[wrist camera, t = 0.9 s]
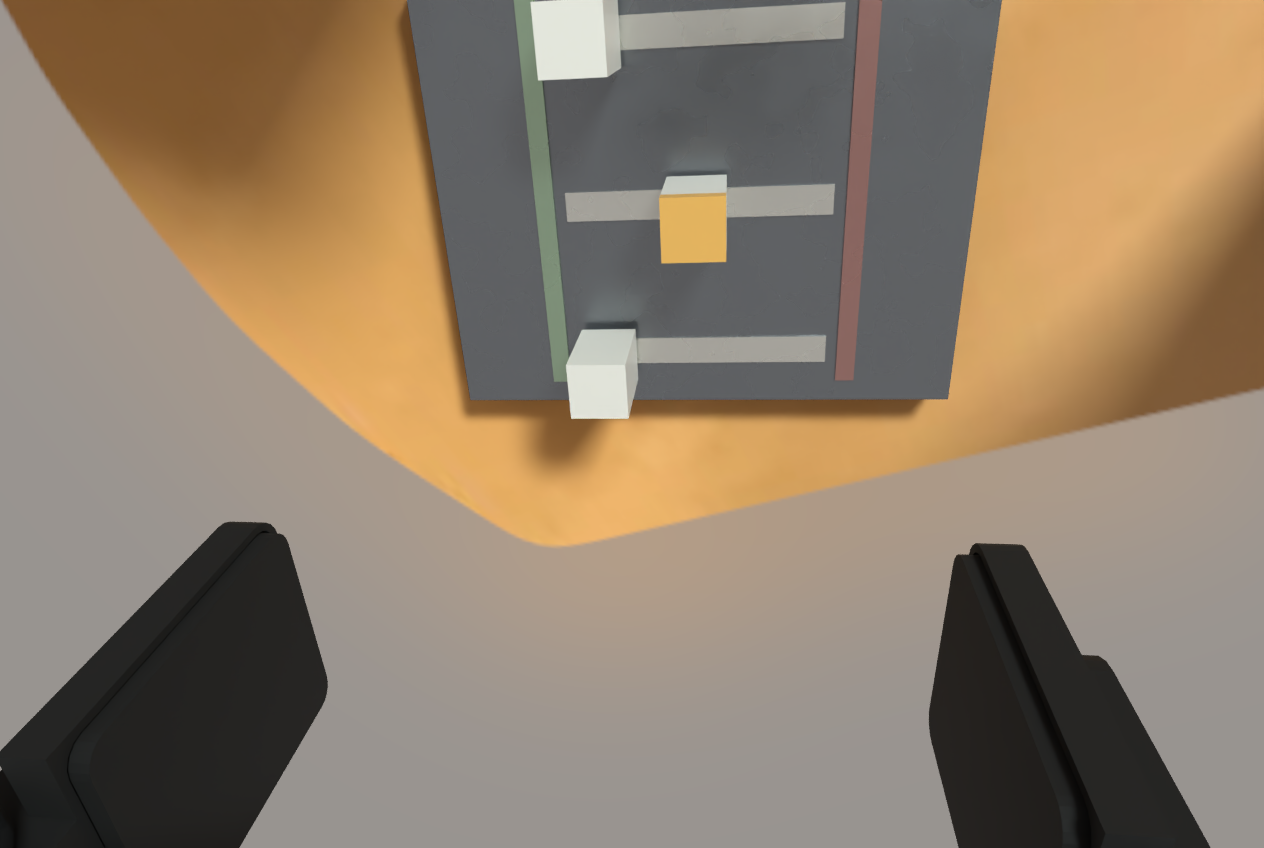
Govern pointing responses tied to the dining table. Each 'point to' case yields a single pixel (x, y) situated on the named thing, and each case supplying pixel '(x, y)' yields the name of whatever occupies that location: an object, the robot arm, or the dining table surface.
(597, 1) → the block
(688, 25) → the panel
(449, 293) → the dining table surface
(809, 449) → the dining table surface
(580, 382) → the block
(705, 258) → the block
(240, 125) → the dining table surface
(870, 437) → the dining table surface
